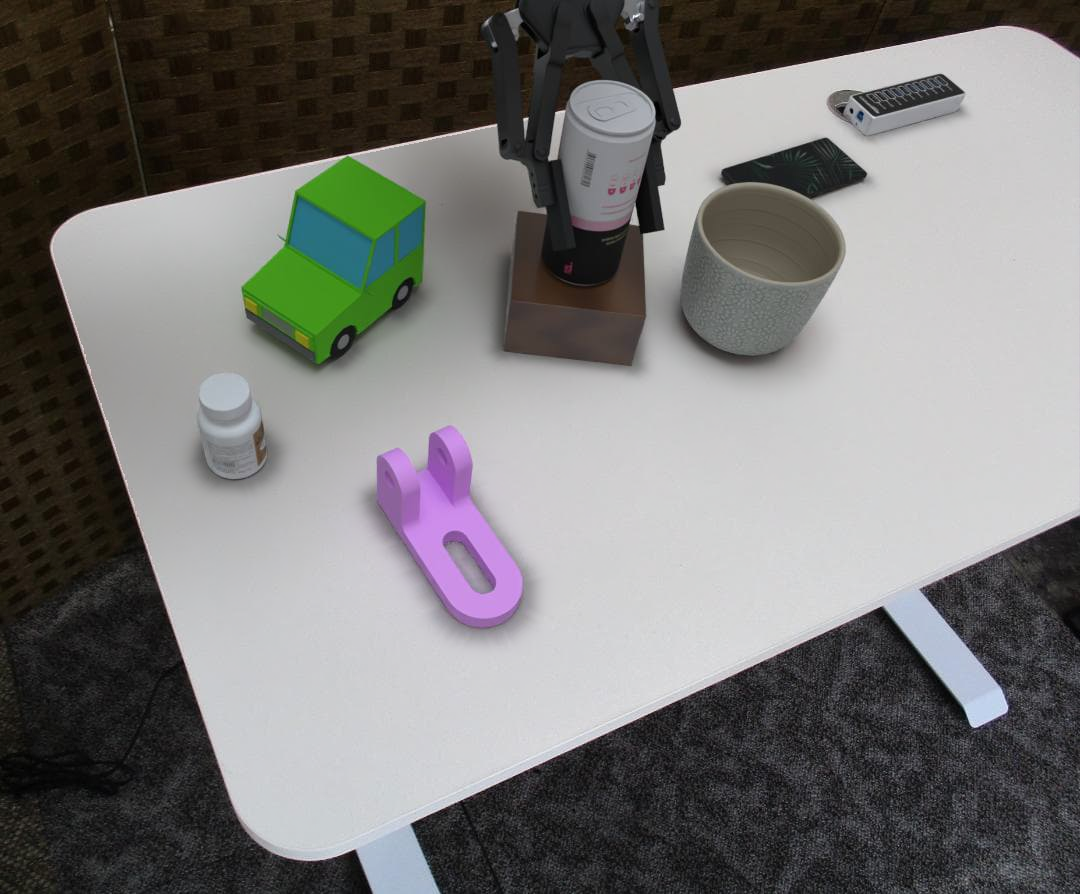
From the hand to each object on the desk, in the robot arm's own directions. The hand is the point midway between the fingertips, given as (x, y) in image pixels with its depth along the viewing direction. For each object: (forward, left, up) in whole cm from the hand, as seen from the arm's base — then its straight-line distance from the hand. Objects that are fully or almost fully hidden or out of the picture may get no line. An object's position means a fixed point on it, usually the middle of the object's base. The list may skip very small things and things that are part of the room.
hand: (609, 240), depth 77 cm
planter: (+14, +4, -12) cm, 18 cm away
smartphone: (+22, +26, -11) cm, 36 cm away
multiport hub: (+36, +41, -12) cm, 56 cm away
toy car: (-21, 0, -12) cm, 24 cm away
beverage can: (-1, +3, -6) cm, 7 cm away
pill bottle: (-26, -16, -12) cm, 33 cm away
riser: (-1, +3, -11) cm, 12 cm away
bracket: (-9, -22, -12) cm, 27 cm away
